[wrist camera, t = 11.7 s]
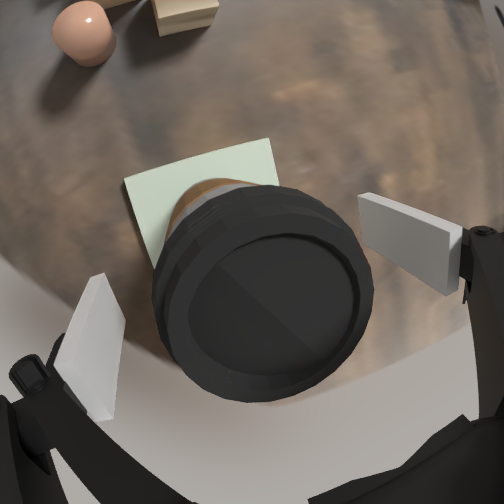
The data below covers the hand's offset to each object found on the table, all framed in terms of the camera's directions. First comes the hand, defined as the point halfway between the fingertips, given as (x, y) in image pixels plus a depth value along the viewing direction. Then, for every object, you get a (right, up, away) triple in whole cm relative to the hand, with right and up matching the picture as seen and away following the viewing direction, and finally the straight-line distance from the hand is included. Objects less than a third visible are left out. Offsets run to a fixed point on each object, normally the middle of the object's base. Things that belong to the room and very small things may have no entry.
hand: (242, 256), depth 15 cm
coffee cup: (-2, +3, +9) cm, 10 cm away
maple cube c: (-5, +19, +4) cm, 20 cm away
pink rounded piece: (-11, +16, +3) cm, 20 cm away
